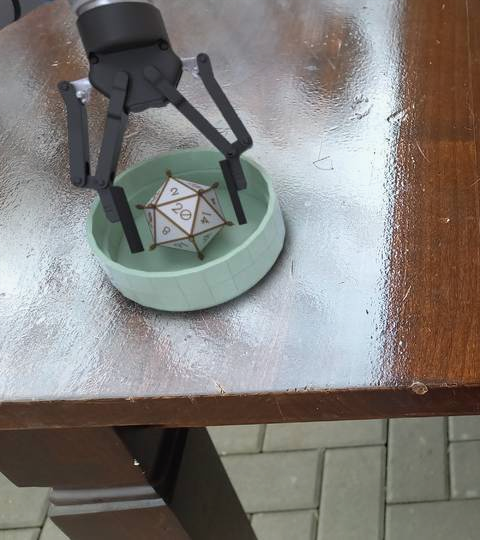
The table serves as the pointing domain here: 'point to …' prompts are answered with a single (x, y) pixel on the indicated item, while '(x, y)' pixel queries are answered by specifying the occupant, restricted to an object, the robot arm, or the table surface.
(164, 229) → the game die
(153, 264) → the bowl
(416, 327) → the table surface
